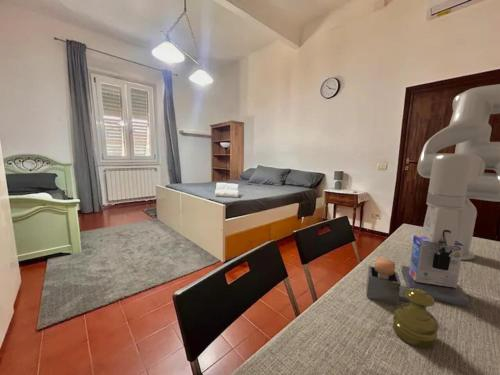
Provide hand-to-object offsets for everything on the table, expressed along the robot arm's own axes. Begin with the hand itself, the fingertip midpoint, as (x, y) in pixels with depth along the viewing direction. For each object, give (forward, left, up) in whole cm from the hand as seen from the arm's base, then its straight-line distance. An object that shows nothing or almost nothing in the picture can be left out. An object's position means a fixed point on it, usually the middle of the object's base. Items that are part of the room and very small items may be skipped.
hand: (434, 261), depth 62 cm
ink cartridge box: (0, 0, -6) cm, 6 cm away
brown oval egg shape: (+11, -13, -4) cm, 17 cm away
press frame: (+4, -5, -8) cm, 10 cm away
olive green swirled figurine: (+23, -8, -8) cm, 26 cm away
